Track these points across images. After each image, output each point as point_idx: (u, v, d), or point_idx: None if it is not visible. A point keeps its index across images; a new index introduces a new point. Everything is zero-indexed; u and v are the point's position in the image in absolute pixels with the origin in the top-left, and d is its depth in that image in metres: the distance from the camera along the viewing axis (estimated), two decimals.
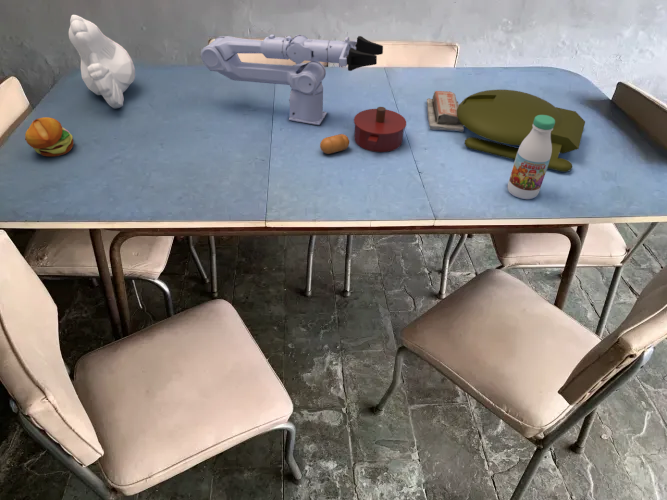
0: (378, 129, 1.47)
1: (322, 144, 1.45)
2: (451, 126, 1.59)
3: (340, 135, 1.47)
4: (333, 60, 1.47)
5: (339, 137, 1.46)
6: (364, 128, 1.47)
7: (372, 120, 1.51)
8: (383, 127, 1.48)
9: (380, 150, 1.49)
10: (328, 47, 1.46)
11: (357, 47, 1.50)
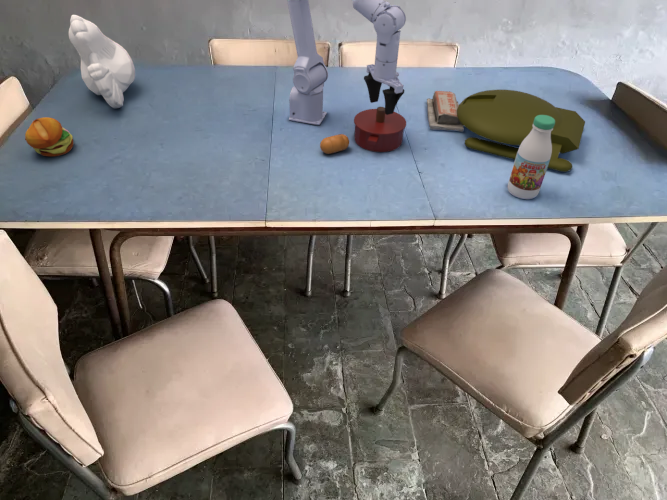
0: (378, 129, 1.47)
1: (322, 144, 1.45)
2: (451, 126, 1.59)
3: (340, 135, 1.47)
4: (386, 68, 1.38)
5: (339, 137, 1.46)
6: (364, 128, 1.47)
7: (372, 120, 1.51)
8: (383, 127, 1.48)
9: (380, 150, 1.49)
10: None
11: None
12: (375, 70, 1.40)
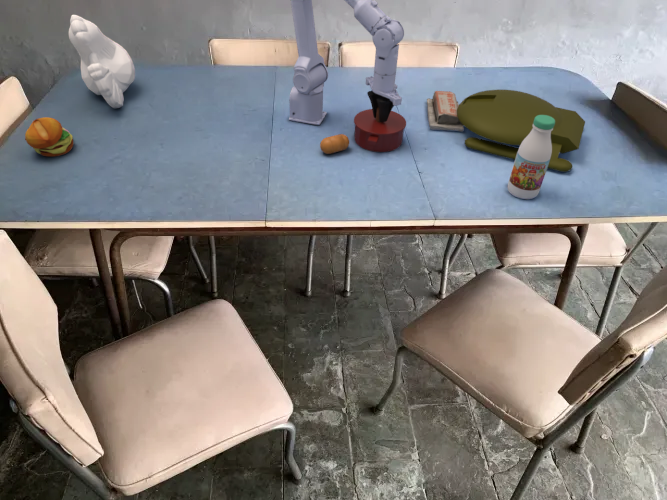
0: (378, 129, 1.47)
1: (322, 144, 1.45)
2: (451, 126, 1.59)
3: (340, 135, 1.47)
4: (384, 81, 1.40)
5: (339, 137, 1.46)
6: (364, 128, 1.47)
7: (372, 120, 1.51)
8: (383, 127, 1.48)
9: (380, 150, 1.49)
10: (395, 73, 1.41)
11: None
12: (374, 83, 1.42)
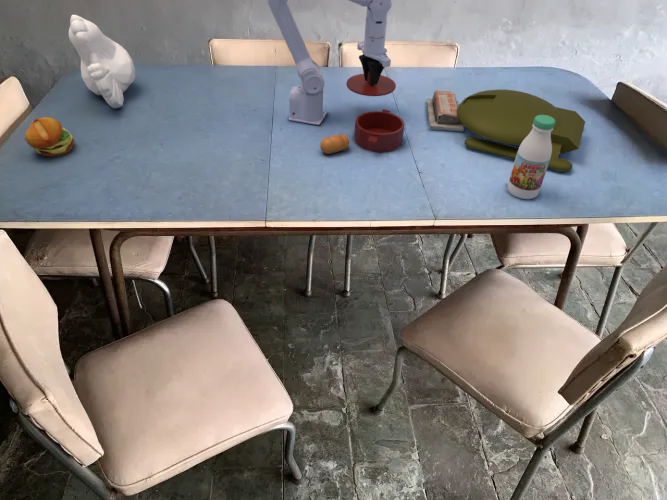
0: (369, 91, 1.56)
1: (322, 144, 1.45)
2: (451, 126, 1.59)
3: (340, 135, 1.47)
4: (374, 44, 1.49)
5: (339, 137, 1.46)
6: (356, 90, 1.56)
7: (363, 83, 1.60)
8: (374, 89, 1.57)
9: (380, 150, 1.49)
10: (384, 37, 1.50)
11: None
12: (365, 46, 1.51)
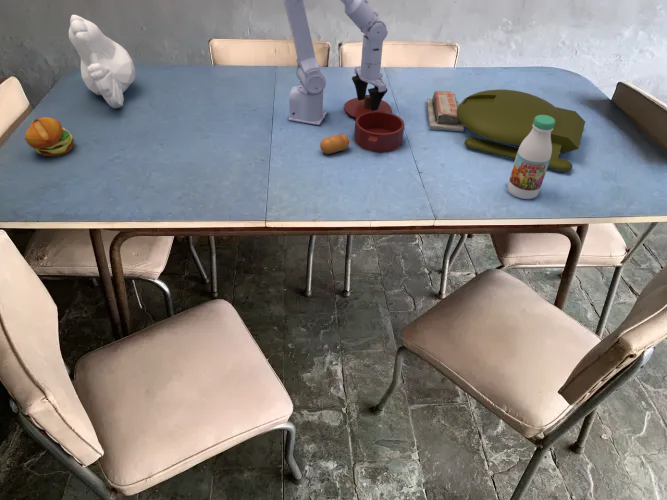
0: None
1: (322, 144, 1.45)
2: (451, 126, 1.59)
3: (340, 135, 1.47)
4: (370, 69, 1.56)
5: (339, 137, 1.46)
6: (353, 114, 1.63)
7: (360, 107, 1.67)
8: None
9: (380, 150, 1.49)
10: (380, 63, 1.57)
11: None
12: (361, 71, 1.58)
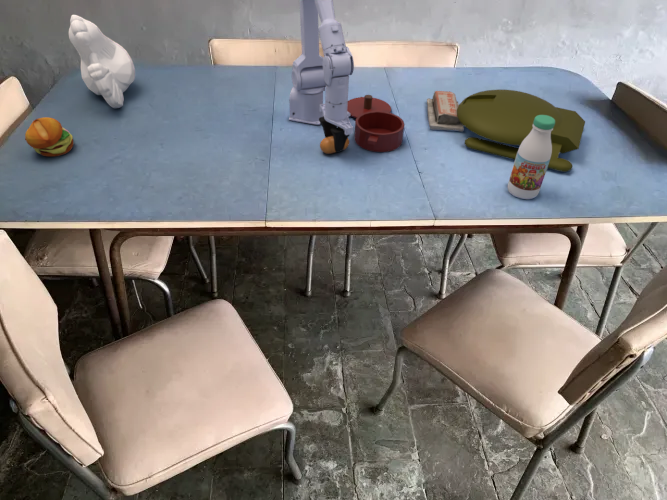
0: None
1: (322, 144, 1.45)
2: (451, 126, 1.59)
3: None
4: (335, 110, 1.38)
5: None
6: (353, 114, 1.63)
7: (360, 107, 1.67)
8: None
9: (380, 150, 1.49)
10: (347, 102, 1.39)
11: None
12: (326, 111, 1.40)
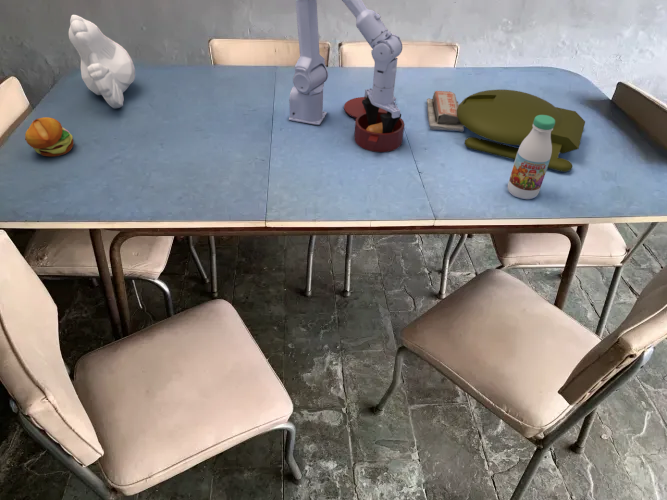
0: None
1: None
2: (451, 126, 1.59)
3: None
4: (383, 94, 1.43)
5: None
6: (353, 114, 1.63)
7: (360, 107, 1.67)
8: None
9: (380, 150, 1.49)
10: None
11: None
12: (373, 95, 1.45)
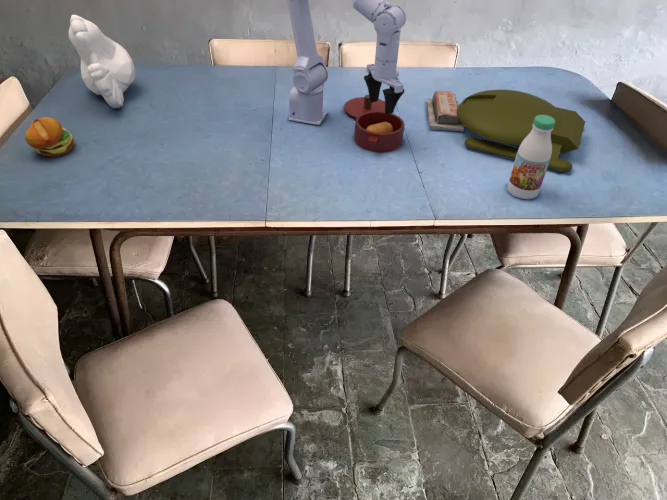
0: None
1: None
2: (451, 126, 1.59)
3: (384, 123, 1.52)
4: (386, 68, 1.38)
5: (384, 125, 1.51)
6: (353, 114, 1.63)
7: (360, 107, 1.67)
8: None
9: (380, 150, 1.49)
10: None
11: None
12: (375, 70, 1.40)
